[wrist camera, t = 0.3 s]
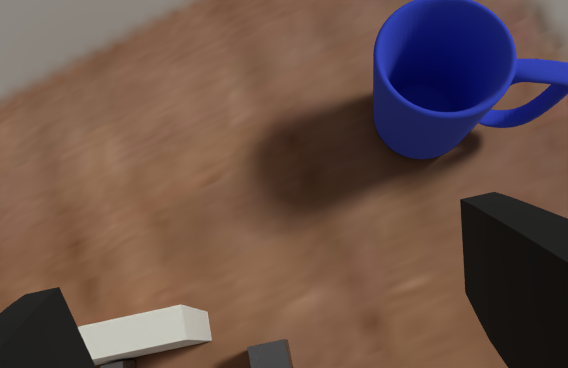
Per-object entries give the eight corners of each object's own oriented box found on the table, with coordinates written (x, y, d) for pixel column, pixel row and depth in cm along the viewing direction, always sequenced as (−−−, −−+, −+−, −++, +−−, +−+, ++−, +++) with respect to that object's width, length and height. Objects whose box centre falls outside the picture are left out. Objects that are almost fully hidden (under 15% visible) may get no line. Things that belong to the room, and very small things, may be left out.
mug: (524, 185, 39) (589, 132, 29) (357, 166, 40) (366, 110, 31) (527, 83, 41) (587, 4, 31) (369, 69, 42) (381, -12, 33)
